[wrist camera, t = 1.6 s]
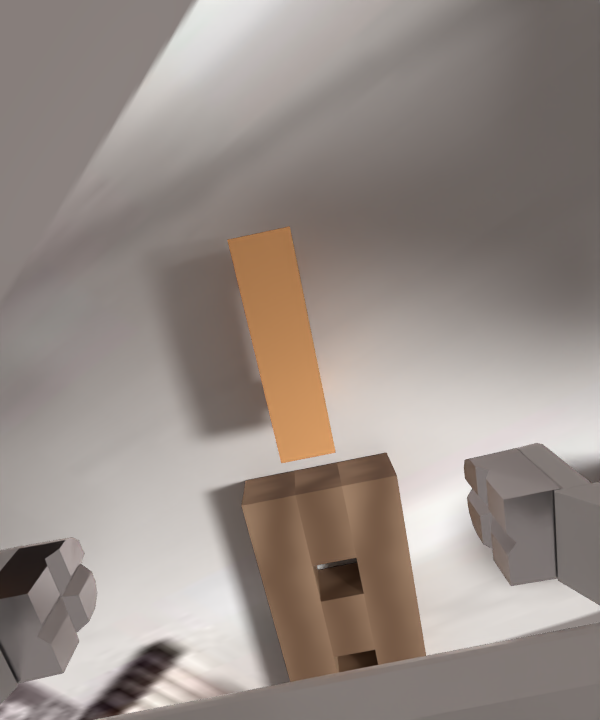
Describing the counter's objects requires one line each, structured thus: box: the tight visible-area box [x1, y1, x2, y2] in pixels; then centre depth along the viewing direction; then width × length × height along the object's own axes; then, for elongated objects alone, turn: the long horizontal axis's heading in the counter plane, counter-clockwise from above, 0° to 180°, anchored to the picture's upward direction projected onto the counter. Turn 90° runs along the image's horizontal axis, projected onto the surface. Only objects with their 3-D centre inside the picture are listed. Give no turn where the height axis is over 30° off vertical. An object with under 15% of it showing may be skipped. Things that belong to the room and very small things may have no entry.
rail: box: [241, 453, 426, 682], centre depth 33 cm, size 10×22×3 cm, turn 12°
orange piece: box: [228, 226, 336, 463], centre depth 26 cm, size 3×12×6 cm, turn 12°
